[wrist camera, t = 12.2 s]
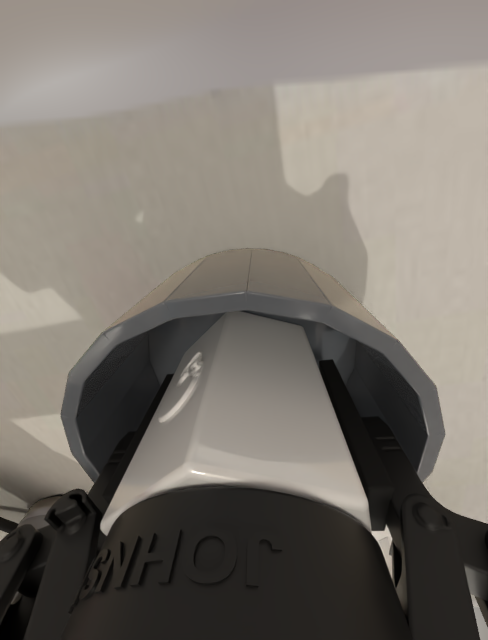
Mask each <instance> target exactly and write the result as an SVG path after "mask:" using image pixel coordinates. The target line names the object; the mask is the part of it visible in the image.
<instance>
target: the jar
mask: <svg viewBox="0 0 488 640" xmlns="http://www.w3.org/2000/svg"><path fill="white" fill-rule="evenodd" d="M100 529H101V531H102V532H103V533H104V534H105V535H106V536H107V537H106V539H105V541H104V543H103V546H102V548H101V550H100V552H99V554H98V556H97V558H96V557H95V558H94V559H93V561H92V563H91V565H90V566H89V569H88V571H87V573H86V575H85V577H84V579H83V581H82V584H81V586H80V588H79V590H78V592H77V594H76V597H75V599H74V601H73V603H72V605H71V607H70V609H69V612H68V613H69V614H71V615H70V617H69V620H68V622H67V625H66V627H65V629H64V631H63V633H62V636H61V638H60V640H413V638H412V635H411V632H410V629H409V626H408V623H407V620H406V617H405V614H404V611H403V609H402V606H401V603H400V600H399V597H398V595H397V592H396V589H395V586H394V583H393V581H392V578H391V575H390V572H389V569H388V567H387V564H386V561H385V558H384V556H383V553H382V550H381V548H380V546H379V544H378V542H377V540H376V539H375V538H374V536H373V535H372V530H371V522H370V513H369V504H368V499H367V497H366V494H365V491H364V489H363V486H362V483H361V481H360V478H359V475H358V472H357V470H356V467H355V464H354V462H353V459H352V456H351V454H350V451H349V448H348V446H347V443H346V440H345V438H344V435H343V432H342V430H341V427H340V424H339V422H338V419H337V416H336V413H335V411H334V408H333V405H332V403H331V400H330V397H329V395H328V392H327V389H326V387H325V384H324V381H323V378H322V376H321V373H320V370H319V368H318V365H317V362H316V360H315V357H314V354H313V352H312V349H311V346H310V343H309V341H308V338H307V335H306V333H305V330H304V328H303V327H302V326H300V325H296V324H292V323H288V322H283V321H279V320H275V319H271V318H267V317H262V316H258V315H254V314H250V313H246V312H242V311H233V312H226V313H225V314H224V315H223V316H222V317H221V318H220V319H219V320H218V321H217V322H216V323H215V324H214V325H212V326H211V327H210V328H209V329H208V330H207V331H206V332H205V333H204V334H203V335H202V336H201V337H200V338H199V339H198V340H197V341H196V342H195V343H194V344H193V345H192V346H191V347H190V348H189V349H188V350H187V351H186V352H185V353H184V355H183V357H182V359H181V361H180V363H179V365H178V367H177V369H176V371H175V373H174V375H173V377H172V379H171V381H170V383H169V385H168V387H167V389H166V391H165V393H164V395H163V398H162V400H161V402H160V404H159V406H158V408H157V410H156V412H155V414H154V416H153V418H152V420H151V422H150V424H149V426H148V428H147V430H146V432H145V434H144V436H143V438H142V440H141V442H140V444H139V446H138V448H137V450H136V452H135V454H134V456H133V458H132V460H131V462H130V464H129V466H128V468H127V470H126V472H125V474H124V476H123V478H122V480H121V482H120V484H119V486H118V488H117V490H116V492H115V494H114V496H113V498H112V500H111V502H110V504H109V506H108V508H107V510H106V512H105V515H104V517H103V519H102V521H101V524H100Z"/></svg>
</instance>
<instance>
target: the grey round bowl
mask: <svg viewBox="0 0 488 640" xmlns="http://www.w3.org/2000/svg"><path fill="white" fill-rule="evenodd" d="M233 311H242V312H246V313H250V314H254V315H258V316H262V317H267V318H271V319H275V320H279V321H283V322H288V323H292V324H296V325H300V326H302V327H303V328H304V330H305V333H306V335H307V338H308V341H309V343H310V346H311V349H312V352H313V354H314V357H315V360H316V362H317V365H318V368H319V361H320V360H331V359H333V361H334V363H335V365H336V367H337V369H338V371H339V373H340V375H341V377H342V379H343V382H344V384H345V386H346V388H347V390H348V392H349V394H350V396H351V398H352V400H353V402H354V404H355V406H356V409H357V411H358V413H359V415H360V417H371V416H378V417H380V418H381V419H382V420H383V421H384V422H385V423H386V424H387V425H388V426H389V427H390V429H391V430H392V432H393V434H394V436H395V437H396V440H397V441H398V442H399V444H400V446H401V448H402V450H403V451H404V452H405V454H406V456H407V458H408V459H409V461H410V463H411V464H412V466H413V468H414V469H415V471H416V473H417V475H418V476H419V478H420V480H421V481H422V483H423V482H424V481H425V480H426V478H427V477H428V476H429V475H430V474H431V473H432V472H433V469H434V466H435V463H436V460H437V457H438V454H439V451H440V449H441V446H442V443H443V440H444V437H445V429H444V424H443V418H442V413H441V408H440V403H439V397H438V392H437V388H436V385H435V384H434V383H433V381H432V380H431V379H430V378H429V377H428V375H427V374H426V373H425V372H424V370H423V369H422V368H421V367H420V366H419V364H418V363H417V362H416V361H415V359H414V358H413V357H412V356H411V355H410V353H409V352H408V351H407V350H406V348H405V347H404V346H403V345H402V344H401V342H400V341H399V340H398V339H397V338H396V337H395V336H394V335H393V334H391V333H390V332H389V331H388V330H387V329H386V328H385V327H384V326H383V325H382V324H381V323H380V322H379V321H378V320H377V319H376V318H375V317H374V316H373V315H372V314H371V313H370V312H369V311H368V310H366V309H365V308H364V307H363V306H362V305H361V304H360V303H359V302H358V301H357V300H356V299H355V298H354V297H353V296H352V295H351V294H350V293H349V292H348V291H347V290H346V289H345V288H344V287H343V286H341V285H340V284H339V283H338V282H337V281H336V280H335V279H334V278H333V277H332V276H330V275H329V274H327V273H325V272H323V271H322V270H320V269H319V268H318V267H316V266H315V265H313V264H311V263H309V262H307V261H305V260H303V259H301V258H298V257H295V256H292V255H289V254H286V253H283V252H278V251H273V250H268V249H252V248H246V249H234V250H228V251H223V252H219V253H214V254H212V255H208V256H206V257H204V258H201V259H199V260H197V261H195V262H193V263H191V264H190V265H188V266H186V267H184V268H183V269H181V270H179V271H177V272H176V273H174V274H173V275H171V276H170V277H169V278H168V279H166V280H165V281H164V282H163V283H162V284H160V285H159V286H158V287H157V288H155V289H154V290H153V291H152V292H151V293H149V294H148V295H147V296H146V297H145V298H143V299H142V300H141V301H140V302H138V303H137V304H136V305H135V306H134V307H132V308H131V309H130V310H129V311H127V312H126V313H125V314H124V315H123V316H121V317H120V318H119V319H118V320H117V321H115V322H114V323H113V324H112V325H110V326H109V327H108V328H107V329H106V330H104V331H103V332H102V333H101V334H100V335H99V336H98V338H97V339H96V340H95V341H94V343H93V344H92V345H91V346H90V347H89V349H88V350H87V351H86V352H85V353H84V355H83V356H82V357H81V358H80V359H79V361H78V362H77V363H76V364H75V366H74V367H73V368H72V369H71V370H70V372H69V374H68V379H67V384H66V389H65V394H64V399H63V404H62V410H61V420H62V423H63V426H64V430H65V433H66V437H67V440H68V444H69V447H70V450H71V453H72V455H73V456H74V457H75V458H76V460H77V461H78V462H79V464H80V465H81V466H82V468H83V469H84V470H85V472H86V473H87V474H88V476H89V477H90V478H91V479H92V481H93V482H94V483H95V482H96V480H97V478H98V477H99V475H100V473H101V472H102V470H103V468H104V466H105V465H106V463H108V460H109V458H110V456H111V454H113V451H114V449H115V448H116V446H117V444H118V443H119V441H120V440H121V439H122V438H123V437H124V436H125V435H126V434H127V433H128V432H132V431H137V429H138V427H139V425H140V424H141V422H142V420H143V418H144V416H145V414H146V412H147V411H148V409H149V407H150V405H151V403H152V401H153V399H154V397H155V396H156V394H157V392H158V390H159V388H160V386H161V384H162V383H163V381H164V379H165V377H166V375H167V374H174V373H175V371H176V369H177V367H178V365H179V363H180V361H181V359H182V357H183V355H184V353H185V352H186V351H187V350H188V349H189V348H190V347H191V346H192V345H193V344H194V343H195V342H196V341H197V340H198V339H199V338H200V337H201V336H202V335H203V334H204V333H205V332H206V331H207V330H208V329H209V328H210V327H211V326H212V325H214V324H215V323H216V322H217V321H218V320H219V319H220V318H221V317H222V316H223V315H224V314H225V313H226V312H233Z"/></svg>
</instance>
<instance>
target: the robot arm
mask: <svg viewBox="0 0 488 640" xmlns="http://www.w3.org/2000/svg"><path fill="white" fill-rule="evenodd" d="M319 370H320V373H321V376H322V378H323V381H324V384H325V387H326V389H327V392H328V395H329V397H330V400H331V403H332V405H333V408H334V411H335V413H336V416H337V419H338V422H339V424H340V427H341V430H342V432H343V435H344V438H345V440H346V443H347V446H348V448H349V451H350V454H351V456H352V459H353V462H354V464H355V467H356V470H357V472H358V475H359V478H360V481H361V483H362V486H363V489H364V491H365V494H366V497H367V499H368V504H369V513H370V522H371V530H372V531H385V527H386V524H387V527H388V529H389V532H390V534H391V537H392V542H391V546H390V550H389V555H391V556H392V581H393V583H394V586H395V589H396V592H397V595H398V597H399V600H400V603H401V606H402V609H403V611H404V614H405V617H406V620H407V623H408V626H409V629H410V632H411V635H412V638H413V640H480V637H479V632H478V627H477V623H476V618H475V613H474V609H473V604H472V599H471V595H474V596H475V598H476V600H477V603H478V605H479V607H480V610H481V612H482V614H483V617H484V619H485V622H486V624H487V627H488V524H486V523H483V522H480V521H477V520H474V519H470V518H467V517H464V516H461V515H458V514H456V513H453V512H452V511H450V510H448V509H446V508H445V507H443V506H442V505H441V504H439V503H438V502H437V501H436V500H435V499H434V498H433V497H432V496H431V495H430V494H429V492H428V491H427V489H426V488H425V486H424V485H423V483H422V481H421V480H420V478H419V476H418V475H417V473H416V471H415V469H414V468H413V466H412V464H411V463H410V461H409V459H408V458H407V456H406V454H405V452H404V451H403V450H402V448H401V446H400V444H399V442H398V441H397V440H396V437H395V436H394V434H393V432H392V430H391V429H390V427H389V426H388V425H387V424H386V423H385V422H384V421H383V420H382V419H381V418H380V417H378V416H371V417H360V415H359V413H358V411H357V409H356V406H355V404H354V402H353V400H352V398H351V396H350V394H349V392H348V390H347V388H346V386H345V384H344V382H343V379H342V377H341V375H340V373H339V371H338V369H337V367H336V365H335V363H334V361H333V359H331V360H320V361H319ZM173 375H174V374H167V375H166V377H165V379H164V381H163V383H162V384H161V386H160V388H159V390H158V392H157V394H156V396H155V397H154V399H153V401H152V403H151V405H150V407H149V409H148V411H147V412H146V414H145V416H144V418H143V420H142V422H141V424H140V425H139V427H138V429H137V431H132V432H128V433H127V434H126V435H125V436H124V437H123V438H122V439H121V440H120V441H119V443H118V444H117V446H116V448H115V449H114V451H113V454H111V456H110V458H109V460H108V463H106V465H105V466H104V468H103V470H102V472H101V473H100V475H99V477H98V478H97V480H96V482H95V483H94V485H93V487H92V489H91V490H90V492H89V494H88V495H87V494H86V493H85V491H84V490H82V489H75V490H71V491H69V492H68V493H66V494H64V495H63V496H57V497H50V498H46V499H42V500H40V501H38V502H36V503H35V504H34V505H33V506H32V507H31V509H30V510H29V511H28V513H27V514H26V515H25V517H24V518H23V519H22V521H21V522H20V523H19V524H17V523H14V522H12V521H9V520H7V519H4V518H2V517H0V530H2V531H4V532H7V533H9V534H8V535H6V536H5V537H4V538H3V539H2V540H1V541H0V640H60V638H61V636H62V633H63V631H64V629H65V627H66V625H67V622H68V620H69V617H70V615H71V614H69V613H68V612H69V609H70V607H71V605H72V603H73V601H74V599H75V597H76V594H77V592H78V590H79V588H80V586H81V584H82V581H83V579H84V577H85V575H86V573H87V571H88V569H89V566H90V565H91V563H92V561H93V559H94V558H95V557H96V558H97V556H98V554H99V552H100V550H101V548H102V546H103V543H104V541H105V539H106V537H107V536H106V535H105V534H104V533H103V532H102V531H101V529H100V524H101V521H102V519H103V517H104V515H105V512H106V510H107V508H108V506H109V504H110V502H111V500H112V498H113V496H114V494H115V492H116V490H117V488H118V486H119V484H120V482H121V480H122V478H123V476H124V474H125V472H126V470H127V468H128V466H129V464H130V462H131V460H132V458H133V456H134V454H135V452H136V450H137V448H138V446H139V444H140V442H141V440H142V438H143V436H144V434H145V432H146V430H147V428H148V426H149V424H150V422H151V420H152V418H153V416H154V414H155V412H156V410H157V408H158V406H159V404H160V402H161V400H162V398H163V395H164V393H165V391H166V389H167V387H168V385H169V383H170V381H171V379H172V377H173ZM470 594H471V595H470Z"/></svg>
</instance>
